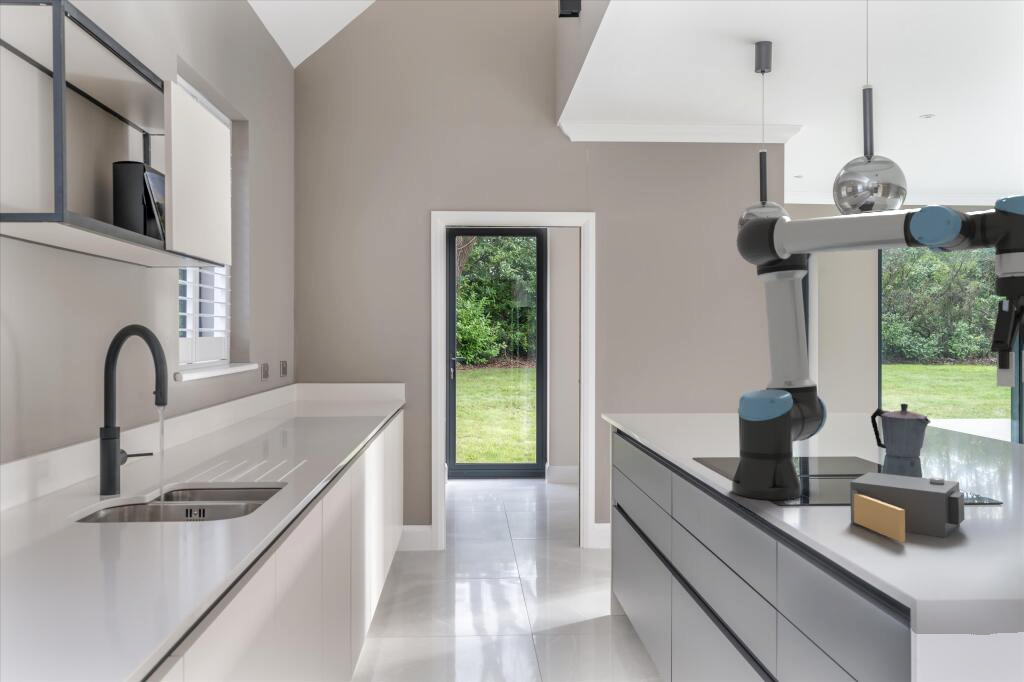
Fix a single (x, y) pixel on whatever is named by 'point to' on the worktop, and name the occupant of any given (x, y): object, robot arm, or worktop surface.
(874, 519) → the side door
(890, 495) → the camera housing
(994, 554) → the worktop surface
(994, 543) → the worktop surface
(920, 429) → the moka pot
